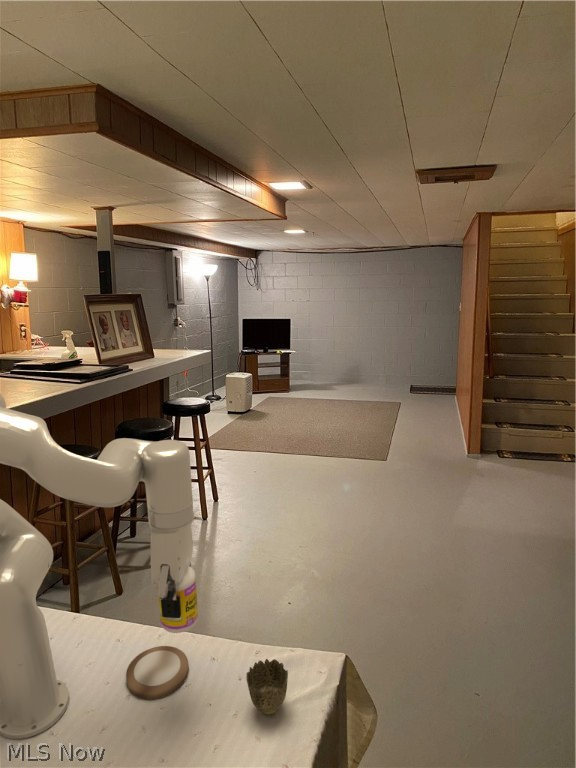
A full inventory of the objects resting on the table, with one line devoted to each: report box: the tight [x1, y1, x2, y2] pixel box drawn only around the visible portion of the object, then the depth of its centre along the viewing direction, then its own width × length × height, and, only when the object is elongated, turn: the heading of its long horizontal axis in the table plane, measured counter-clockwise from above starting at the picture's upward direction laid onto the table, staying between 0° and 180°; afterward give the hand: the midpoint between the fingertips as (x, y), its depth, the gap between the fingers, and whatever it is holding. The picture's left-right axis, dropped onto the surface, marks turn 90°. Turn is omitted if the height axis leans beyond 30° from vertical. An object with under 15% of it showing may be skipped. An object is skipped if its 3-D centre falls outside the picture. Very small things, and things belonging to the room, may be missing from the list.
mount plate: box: [125, 645, 190, 700], centre depth 111 cm, size 12×12×2 cm
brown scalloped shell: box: [245, 658, 289, 717], centre depth 101 cm, size 8×7×8 cm
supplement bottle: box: [156, 558, 199, 634], centre depth 99 cm, size 7×7×13 cm
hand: (177, 601), depth 100 cm, fingers closed on supplement bottle, 6 cm apart
